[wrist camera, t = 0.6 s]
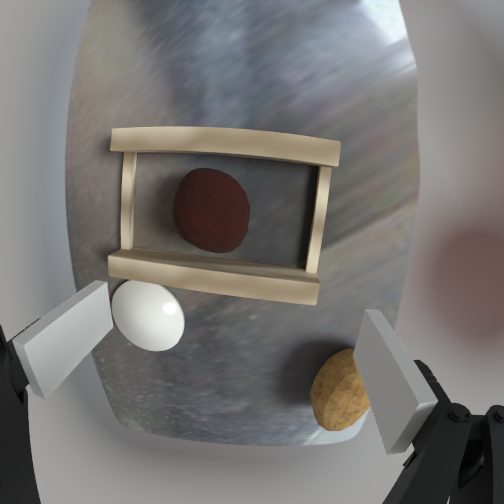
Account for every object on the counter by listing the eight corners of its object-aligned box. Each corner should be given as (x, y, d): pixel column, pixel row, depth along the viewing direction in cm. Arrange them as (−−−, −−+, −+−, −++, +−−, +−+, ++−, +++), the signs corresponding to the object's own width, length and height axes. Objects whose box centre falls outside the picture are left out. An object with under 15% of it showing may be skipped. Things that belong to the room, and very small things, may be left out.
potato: (295, 401, 39) (298, 439, 31) (324, 326, 35) (334, 363, 27) (352, 405, 39) (362, 441, 31) (388, 335, 35) (408, 369, 27)
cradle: (130, 133, 30) (112, 128, 26) (331, 146, 29) (340, 141, 25) (125, 264, 35) (109, 275, 31) (311, 289, 34) (315, 305, 30)
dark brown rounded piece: (233, 155, 30) (220, 149, 23) (266, 230, 32) (264, 246, 25) (171, 186, 32) (143, 190, 24) (204, 256, 34) (186, 279, 26)
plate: (111, 272, 35) (108, 274, 35) (185, 284, 35) (183, 287, 34) (118, 339, 38) (116, 341, 38) (185, 354, 38) (183, 357, 37)
